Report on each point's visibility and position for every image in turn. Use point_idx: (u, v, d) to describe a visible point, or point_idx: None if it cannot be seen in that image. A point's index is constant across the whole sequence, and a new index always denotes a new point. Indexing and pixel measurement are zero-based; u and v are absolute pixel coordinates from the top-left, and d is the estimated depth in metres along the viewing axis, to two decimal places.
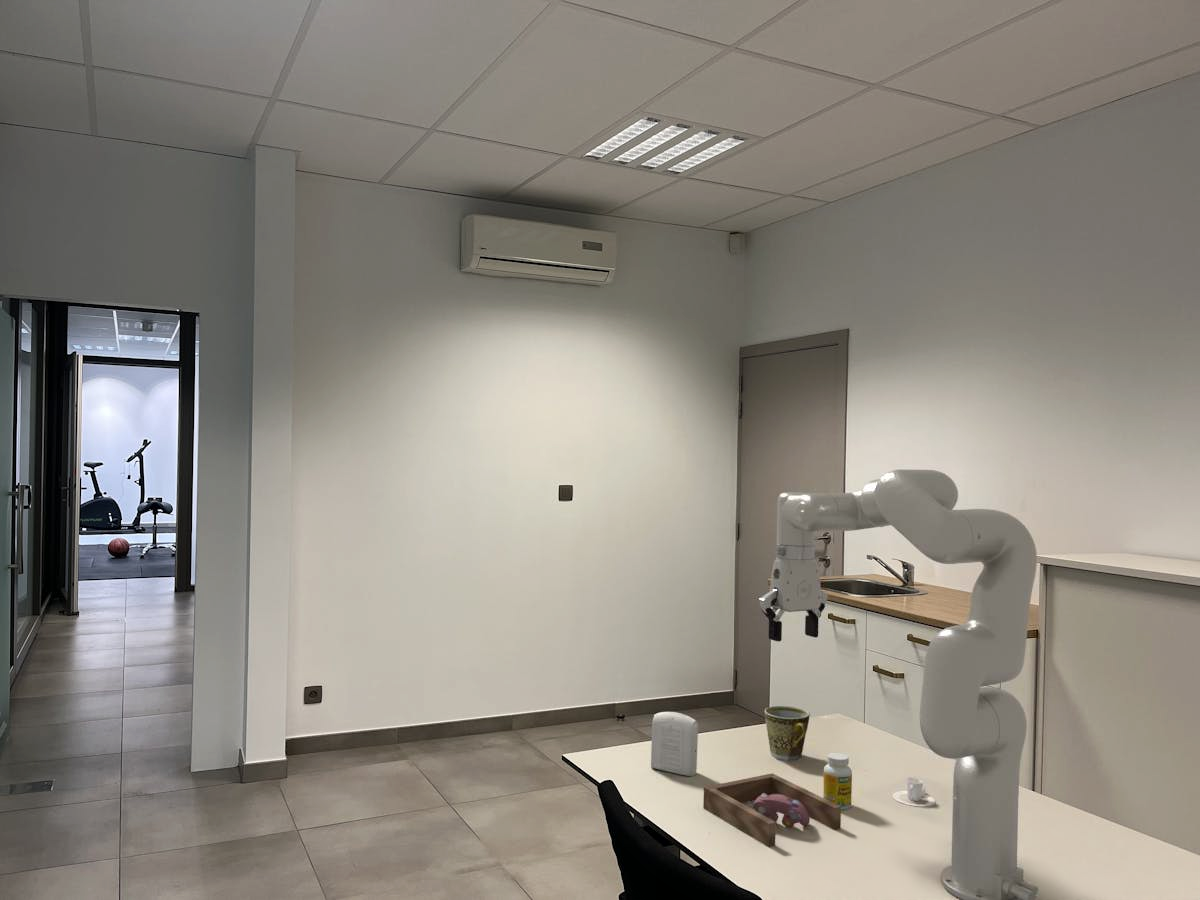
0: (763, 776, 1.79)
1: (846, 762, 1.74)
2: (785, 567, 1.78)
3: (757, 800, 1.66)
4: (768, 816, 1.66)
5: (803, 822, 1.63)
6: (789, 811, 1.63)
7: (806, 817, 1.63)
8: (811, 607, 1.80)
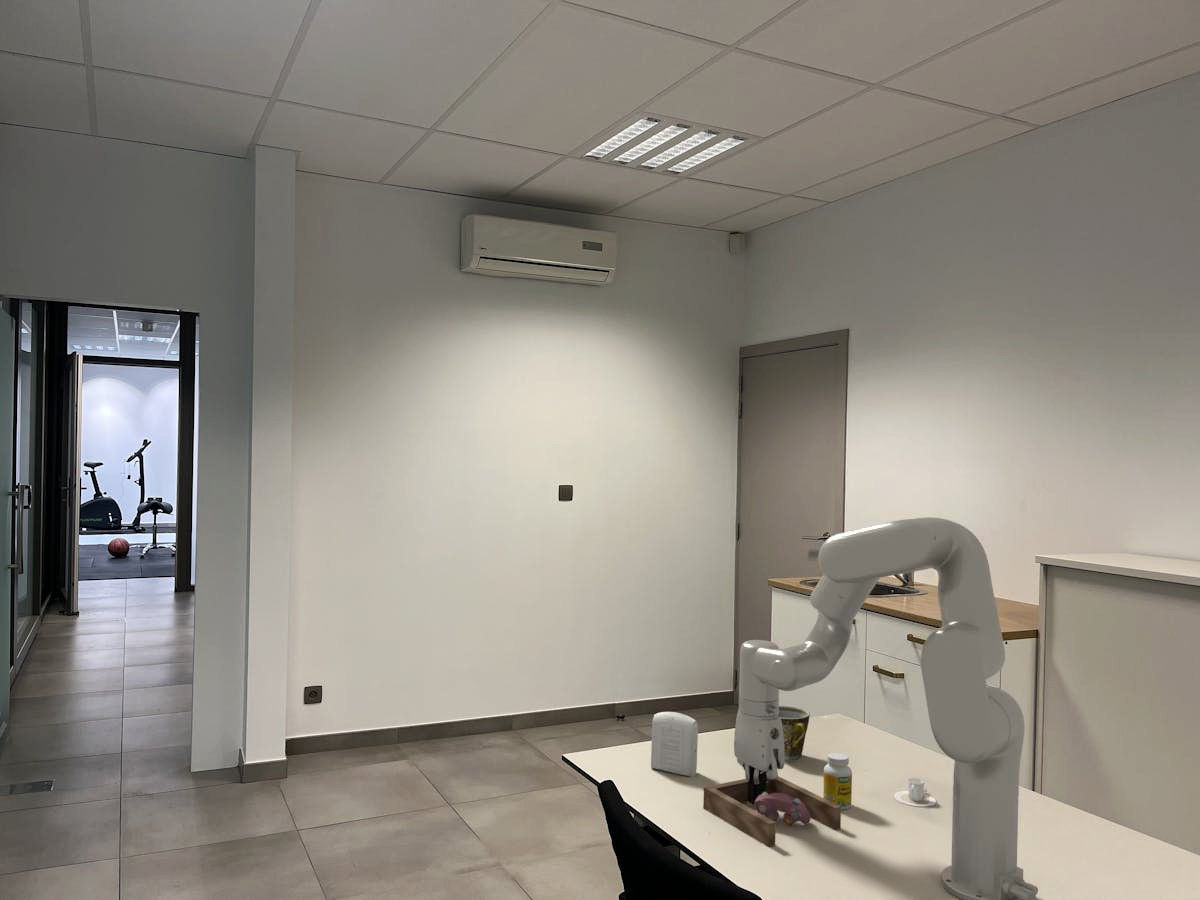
0: None
1: (846, 762, 1.74)
2: (781, 724, 1.69)
3: (758, 799, 1.66)
4: (768, 815, 1.66)
5: (804, 820, 1.64)
6: (790, 809, 1.63)
7: (807, 815, 1.64)
8: None
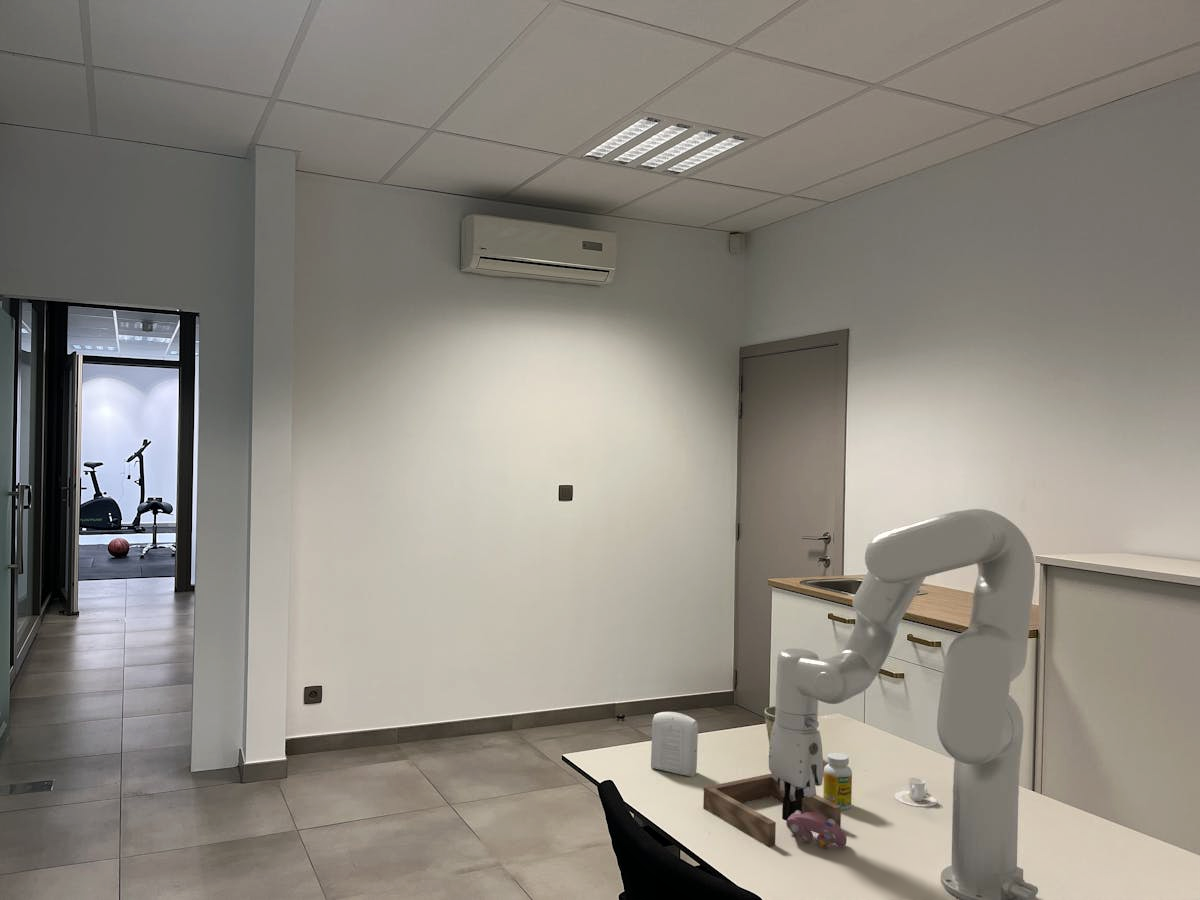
0: (763, 776, 1.79)
1: (846, 762, 1.74)
2: (820, 738, 1.60)
3: (790, 817, 1.58)
4: (801, 835, 1.58)
5: (838, 843, 1.54)
6: (823, 830, 1.54)
7: (842, 838, 1.54)
8: None
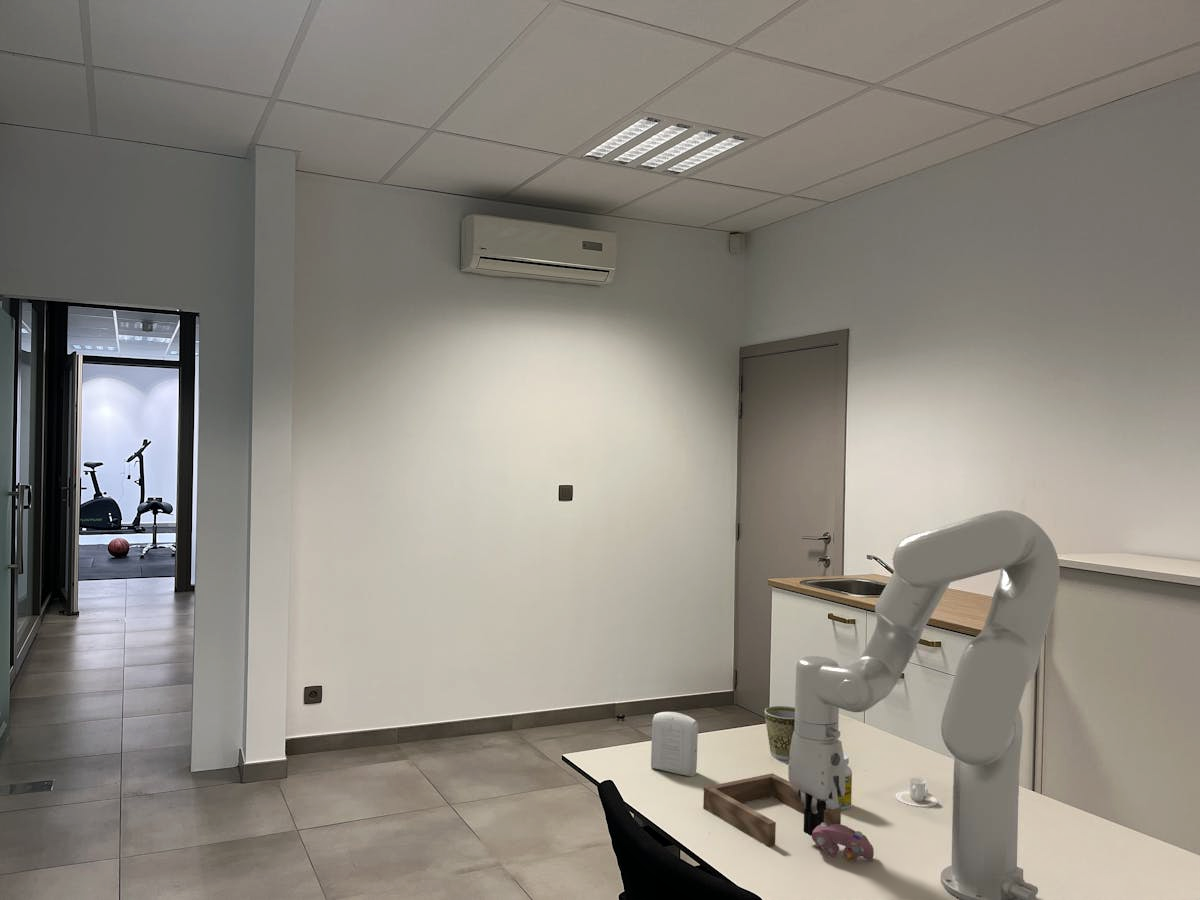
0: (763, 776, 1.79)
1: (846, 762, 1.74)
2: (842, 748, 1.56)
3: (816, 830, 1.53)
4: (827, 848, 1.53)
5: (866, 856, 1.50)
6: (851, 843, 1.49)
7: (870, 850, 1.50)
8: None
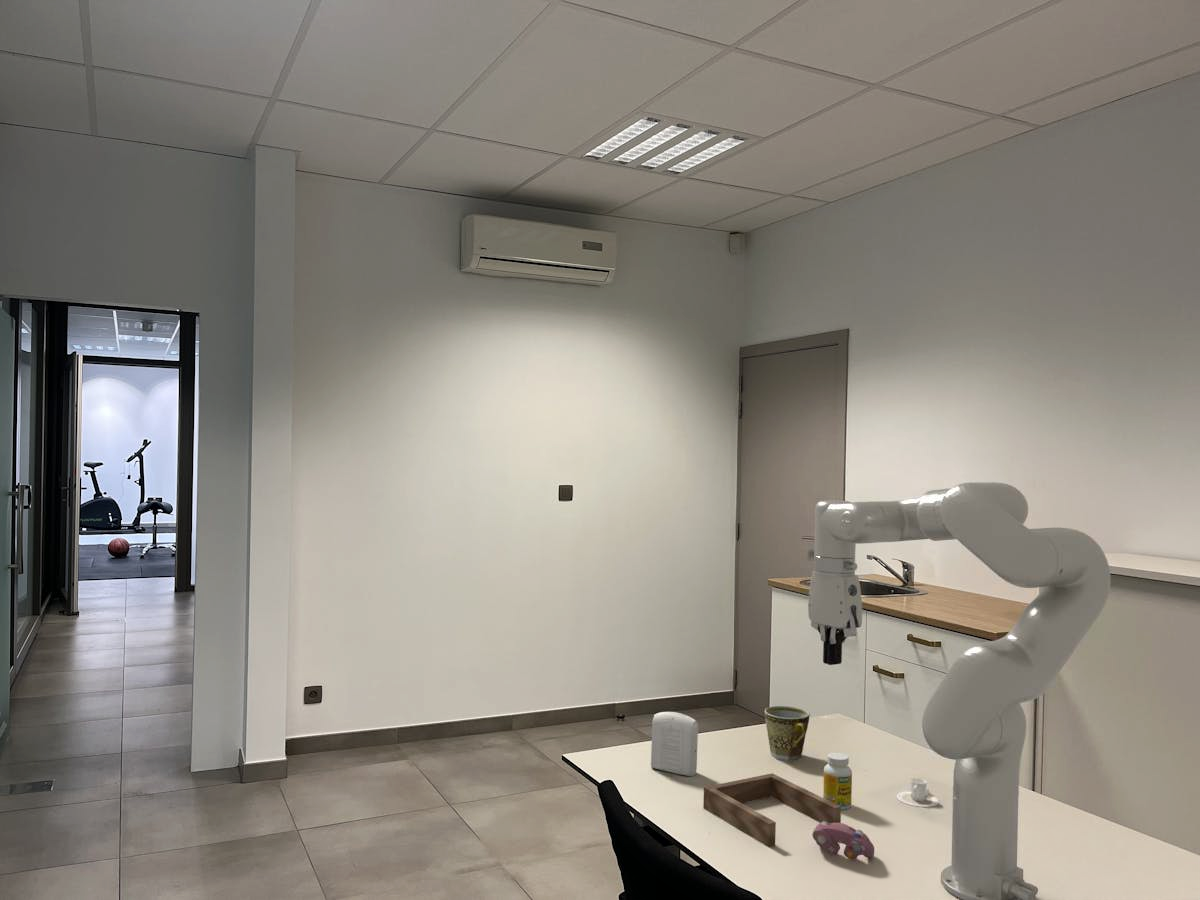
0: (763, 776, 1.79)
1: (846, 762, 1.74)
2: (858, 581, 1.66)
3: (817, 828, 1.53)
4: (828, 846, 1.53)
5: (867, 854, 1.50)
6: (851, 842, 1.50)
7: (870, 849, 1.50)
8: None
